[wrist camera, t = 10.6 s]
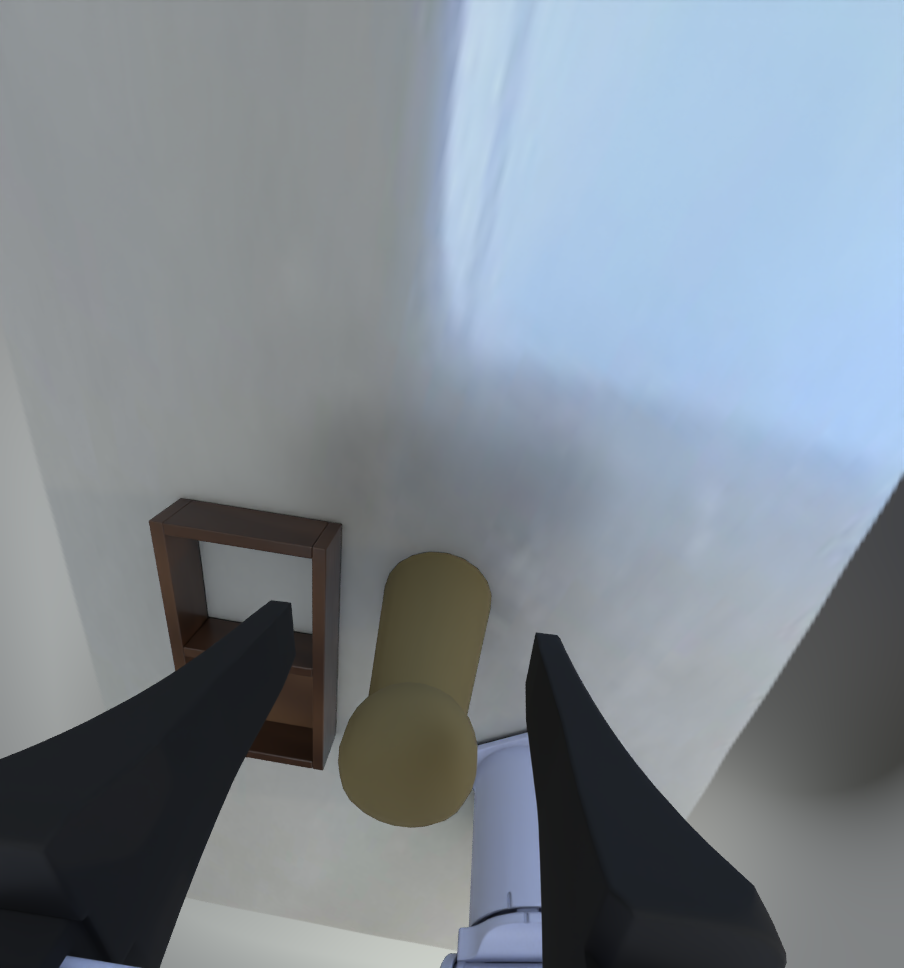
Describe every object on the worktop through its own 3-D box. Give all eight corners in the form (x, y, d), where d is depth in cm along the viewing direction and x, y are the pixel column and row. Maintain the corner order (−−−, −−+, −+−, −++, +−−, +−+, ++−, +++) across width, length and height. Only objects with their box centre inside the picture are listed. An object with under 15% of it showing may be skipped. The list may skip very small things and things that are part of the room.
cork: (486, 548, 24) (478, 742, 14) (496, 637, 26) (496, 856, 16) (375, 555, 25) (293, 743, 15) (395, 640, 27) (336, 851, 17)
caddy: (335, 735, 31) (323, 771, 29) (210, 713, 32) (188, 747, 29) (341, 523, 24) (326, 549, 22) (180, 497, 24) (148, 520, 22)
